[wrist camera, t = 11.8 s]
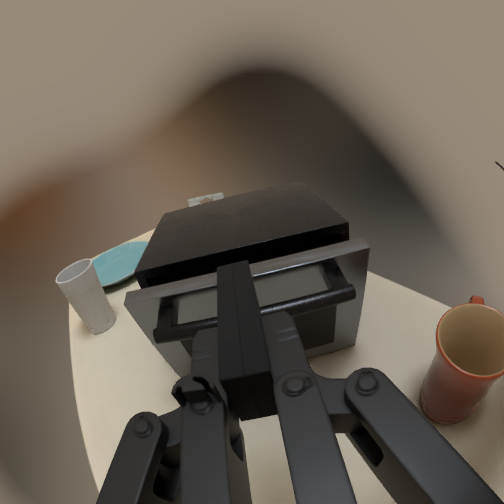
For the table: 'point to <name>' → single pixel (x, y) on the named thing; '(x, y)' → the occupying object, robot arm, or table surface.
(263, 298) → the door
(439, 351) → the mug
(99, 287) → the cup
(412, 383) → the table surface
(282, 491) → the table surface
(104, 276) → the plate
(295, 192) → the box
